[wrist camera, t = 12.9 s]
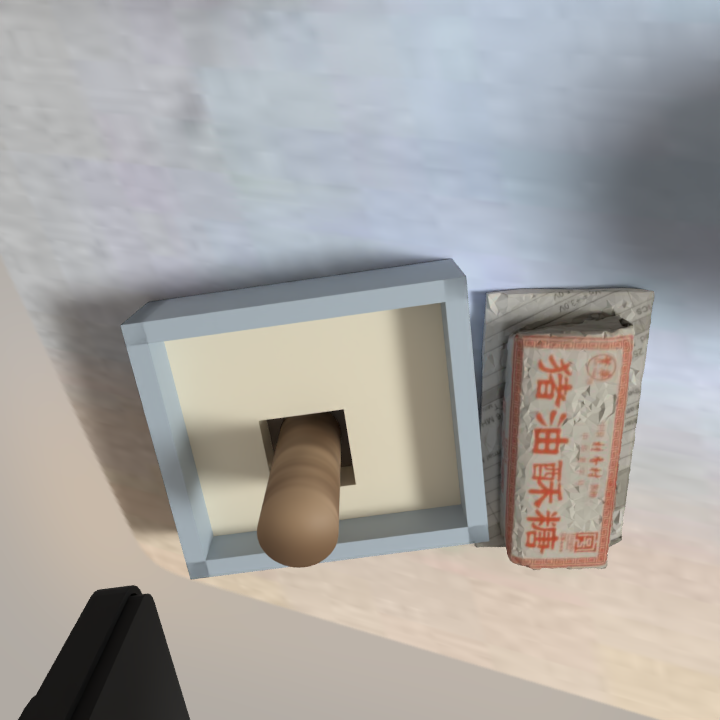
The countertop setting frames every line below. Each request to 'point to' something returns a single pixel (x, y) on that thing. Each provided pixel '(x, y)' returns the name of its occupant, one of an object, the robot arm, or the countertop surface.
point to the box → (316, 408)
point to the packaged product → (560, 419)
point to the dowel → (303, 492)
